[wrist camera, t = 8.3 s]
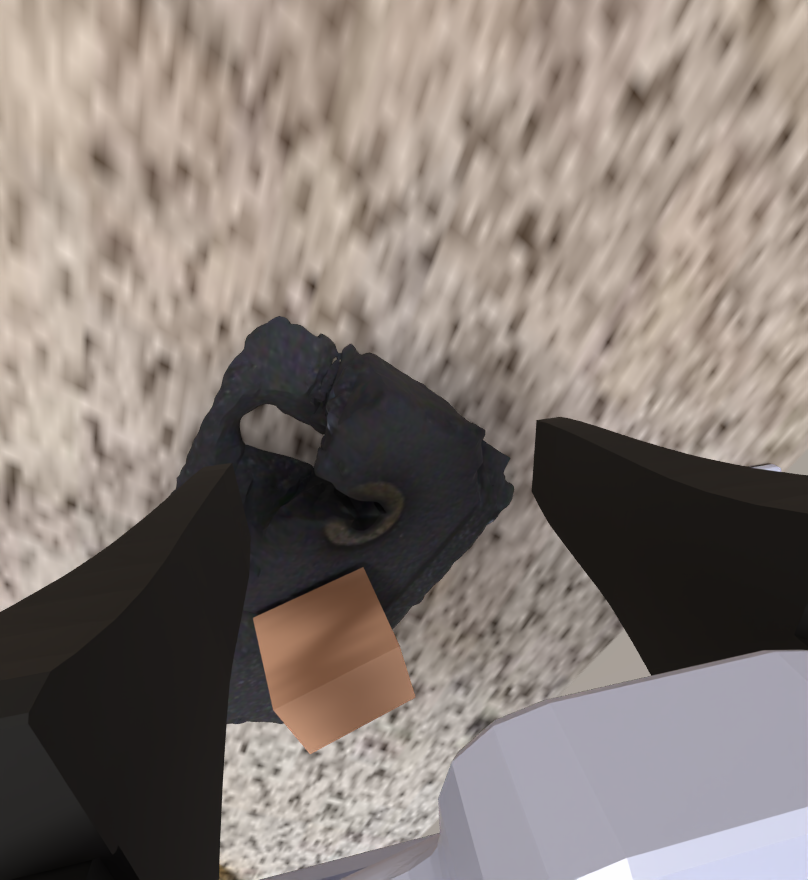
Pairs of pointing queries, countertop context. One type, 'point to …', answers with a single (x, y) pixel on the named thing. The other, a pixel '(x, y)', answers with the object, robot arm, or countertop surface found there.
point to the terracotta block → (332, 661)
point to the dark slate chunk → (343, 484)
